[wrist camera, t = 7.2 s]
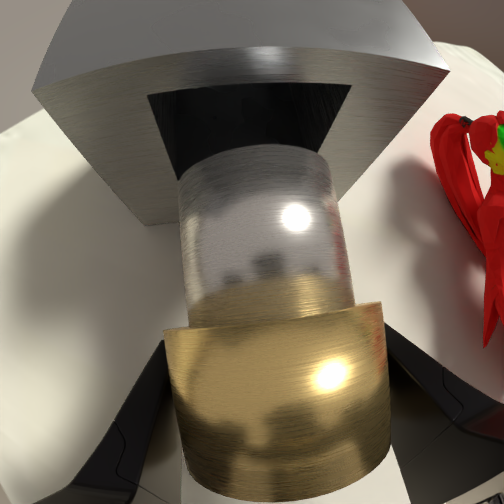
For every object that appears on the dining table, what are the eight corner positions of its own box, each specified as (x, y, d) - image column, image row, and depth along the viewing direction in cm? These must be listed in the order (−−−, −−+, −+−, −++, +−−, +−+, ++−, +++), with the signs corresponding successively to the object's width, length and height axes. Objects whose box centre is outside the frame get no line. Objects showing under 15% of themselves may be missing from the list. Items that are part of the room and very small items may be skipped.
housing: (333, 206, 18) (450, 71, 6) (144, 225, 17) (31, 91, 5) (310, 111, 19) (366, -38, 8) (145, 124, 18) (89, -28, 7)
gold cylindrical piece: (348, 402, 11) (432, 456, 5) (197, 425, 10) (170, 511, 5) (322, 208, 12) (385, 128, 7) (173, 222, 12) (127, 144, 6)
